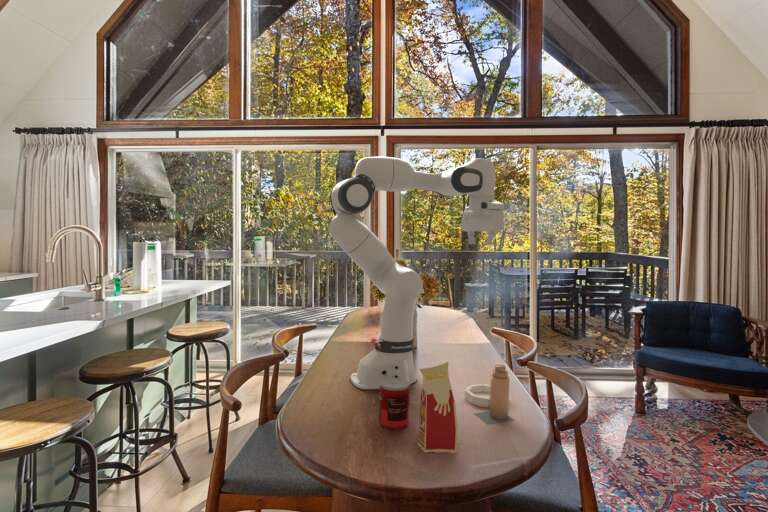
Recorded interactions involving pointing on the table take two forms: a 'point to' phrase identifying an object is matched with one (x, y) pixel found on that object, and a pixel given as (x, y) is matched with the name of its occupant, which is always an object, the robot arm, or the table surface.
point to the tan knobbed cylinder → (499, 393)
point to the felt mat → (488, 420)
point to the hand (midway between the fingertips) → (480, 244)
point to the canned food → (394, 403)
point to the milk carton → (437, 411)
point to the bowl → (478, 394)
